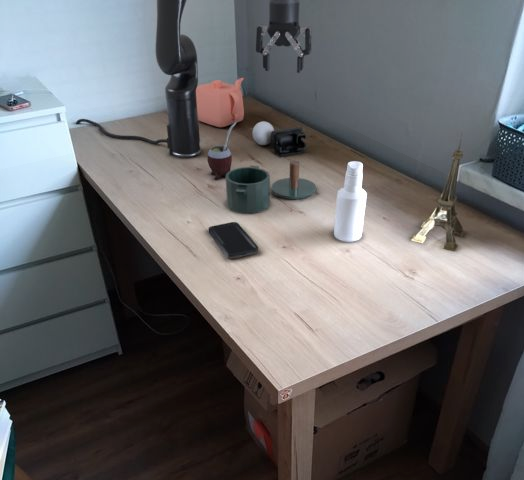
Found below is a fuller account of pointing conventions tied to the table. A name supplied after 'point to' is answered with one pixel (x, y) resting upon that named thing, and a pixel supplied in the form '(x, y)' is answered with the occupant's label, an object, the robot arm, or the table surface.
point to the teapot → (220, 103)
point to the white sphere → (262, 133)
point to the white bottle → (350, 205)
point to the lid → (293, 185)
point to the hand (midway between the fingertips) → (283, 71)
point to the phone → (233, 240)
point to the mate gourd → (220, 159)
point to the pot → (248, 189)
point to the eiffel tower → (447, 201)
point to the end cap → (288, 141)
